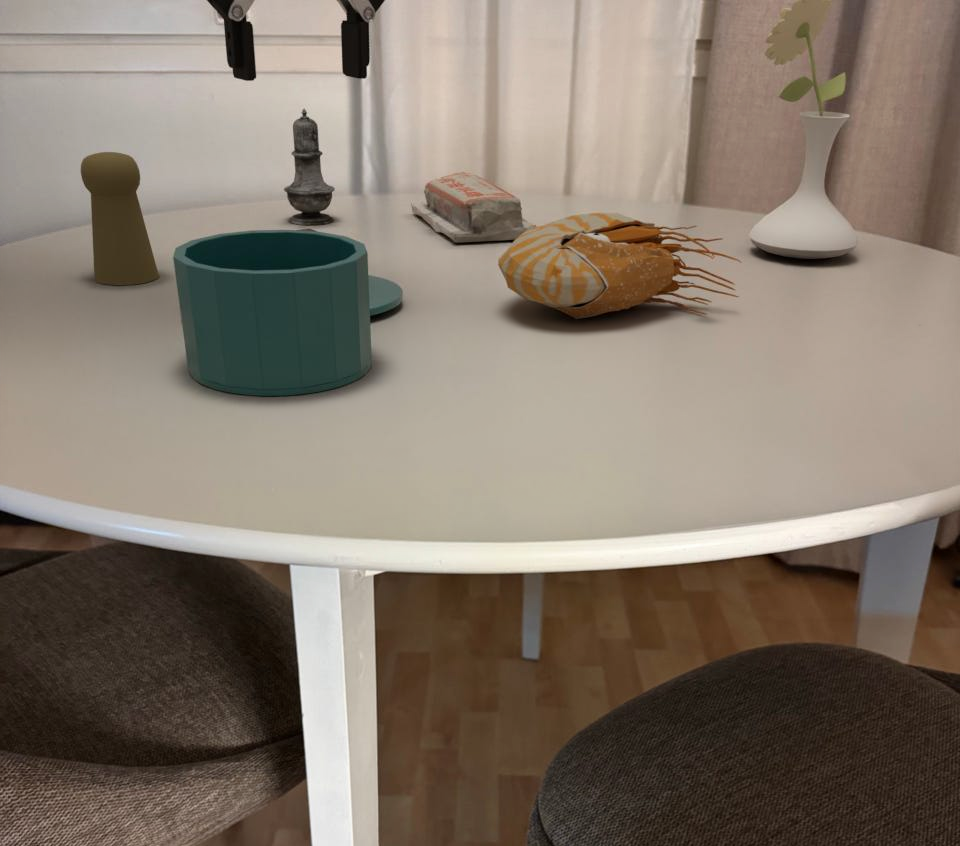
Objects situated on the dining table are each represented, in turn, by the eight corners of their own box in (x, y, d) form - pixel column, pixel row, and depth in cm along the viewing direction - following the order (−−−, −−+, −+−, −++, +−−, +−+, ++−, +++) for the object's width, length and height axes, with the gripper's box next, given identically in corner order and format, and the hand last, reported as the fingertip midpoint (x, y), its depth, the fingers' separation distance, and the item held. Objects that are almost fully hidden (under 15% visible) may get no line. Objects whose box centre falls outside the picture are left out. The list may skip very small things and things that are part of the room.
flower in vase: (815, 240, 121) (861, -16, 108) (876, 263, 112) (934, -14, 99) (714, 247, 118) (748, -18, 104) (769, 271, 109) (813, -15, 95)
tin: (230, 408, 73) (215, 282, 68) (164, 355, 83) (147, 241, 78) (402, 376, 79) (399, 258, 75) (323, 330, 89) (316, 223, 84)
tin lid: (279, 337, 87) (273, 262, 84) (214, 296, 97) (206, 228, 94) (433, 313, 94) (432, 242, 91) (356, 277, 104) (354, 212, 101)
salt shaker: (304, 227, 123) (296, 112, 116) (276, 219, 127) (267, 107, 120) (346, 221, 126) (340, 109, 120) (318, 213, 130) (311, 104, 123)
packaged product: (540, 195, 116) (453, 199, 114) (538, 241, 119) (453, 246, 116) (487, 168, 131) (409, 171, 128) (486, 210, 133) (410, 214, 131)
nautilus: (730, 300, 101) (739, 357, 89) (506, 275, 102) (485, 327, 90) (748, 213, 96) (761, 261, 84) (513, 188, 98) (492, 231, 85)
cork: (110, 268, 105) (90, 147, 100) (168, 271, 105) (152, 149, 99) (83, 283, 100) (60, 156, 95) (144, 286, 100) (125, 159, 94)
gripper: (369, -174, 83) (374, 72, 92) (152, -198, 75) (181, 75, 84) (417, -182, 78) (417, 80, 87) (189, -208, 70) (215, 85, 79)
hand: (301, 78), depth 86 cm, fingers open, 9 cm apart
